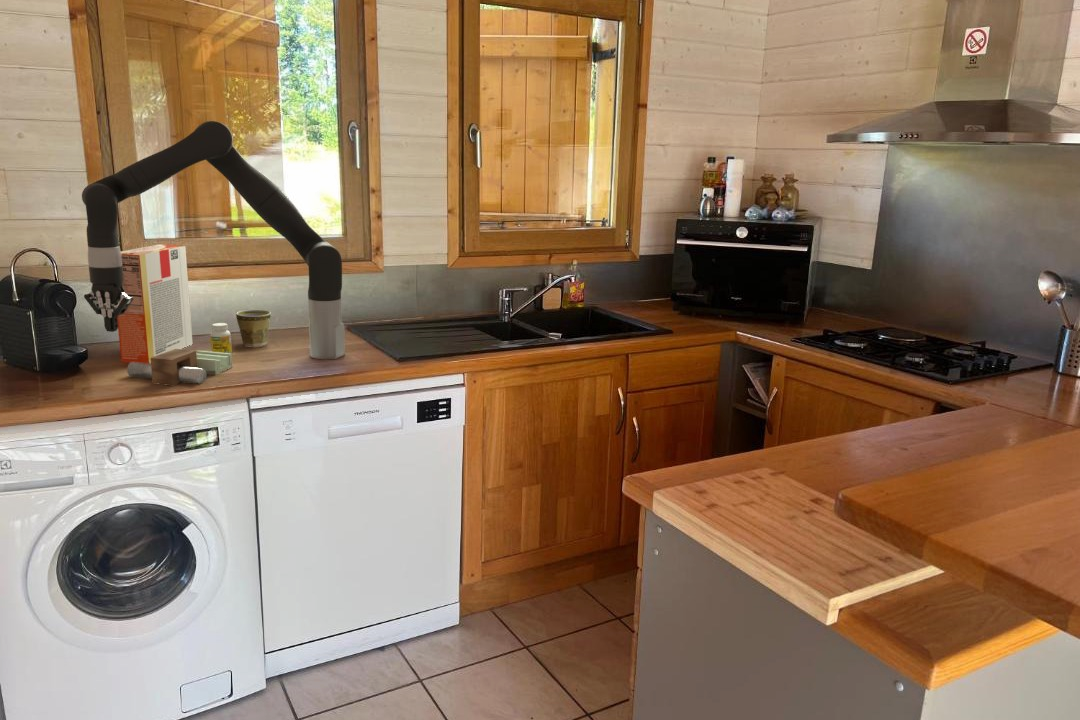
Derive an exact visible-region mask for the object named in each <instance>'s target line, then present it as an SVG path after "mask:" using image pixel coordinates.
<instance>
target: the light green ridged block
mask: <svg viewBox="0 0 1080 720" xmlns="http://www.w3.org/2000/svg"><path fill="white" fill-rule="evenodd" d="M196 355H197V368H203V369H205V370H206V373H207V375H212V374H214V375H213V376H217V375H218V373H219V374H220V372H221V373H223V372H225V371H227V370H226V369H228V370H230V369H232V368H233V359H232V356H233V355H232V356H231V353H221V352H212V351H211V350H209V351H208V350H196ZM231 367H232V368H231ZM229 368H230V369H229ZM224 370H225V371H224ZM222 371H223V372H222Z"/></svg>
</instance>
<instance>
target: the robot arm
mask: <svg viewBox="0 0 1080 720" xmlns="http://www.w3.org/2000/svg"><path fill="white" fill-rule="evenodd" d="M233 138H234V137H233V134H232V131H231V130H230V128H229V127H228V126H226V124H224V123H223V122H220V121H216V120H208V121H204V122H202V123H201V124H199V125H198V126H197V127H196V128H195V129H194V130H193V131H192V132H191V133H189V135H187V136H186V137H184V138H183V139H181V140H180V141H177V142H176V143H174V144H172V145H170V146H168V147H166V148H165V149H162V150H159V151H157V152H156V153H153V154H152V155H148V156H147V157H144V158H142V159H140V160H138V161H136V162H134V163H132V164H130V165H128V166H126V167H125V168H122V169H120V170H119V171H117V172H116V173H114V174H110V175H108V176H106V177H104V178H101V179H98V180H96V181H94V182H92V183H90V184H88V185H87V186H85V187H84V188H83V191H82V192H81V200H82V202H83V205H85V210H86V212H85V213H86V219H87V226H86V241H87V264H88V272H89V273H88V274H89V282H90V283H91V284H92V285H91V288H90V291H89V293H86V294H84V295H83V297H84V299H85V301H86V302H87V303H88V305H90V307H91V309H93V311H94V312H95V314H96V315H101V316H102V317H103V322H104V323H103V325H104V328H105V329H104V330H106V332H109V333H113V332H116V331H117V332H118V319H117V317H118V316H119V315H122V314H124V313H125V311H126V310H127V308H128V307H129V305H130V304H131V302H132V301H133V297H132V296H128V295H126V294H125V293H124V292H125V290H124V288H123V286H122V283H123V281H124V278H123V267H122V256H121V248H120V237H119V236H120V235H119V229H118V213H119V212H118V209H119V208H118V204H119V203H121V202H123V201H125V200H127V199H129V198H133V197H136V196H139V195H141V194H143V193H146V192H147V191H149V190H151V189H152V188H153V189H154V187H156V186H158V185H160V184H162V183H164V182H165V181H167V180H169V179H171V177H174V176H175V175H177V174H178V173H180V172H181V171H183V170H185V169H187V168H189V167H190V166H193V165H196V164H197V163H200V162H203V161H206V162H208V163H209V164H210V165H211V166H212V167H213V168H214V169H216V170H217V171H218V172H219V173H220V174H221V175H222V176H223V177H225V179H226V180H227V181H228V182H229V183H230V184H231V185H232V187H233V188H234V189H235V191H236V192H237V193H238V194H239V195H240V196H241V198H243V200H244V201H245V202H246V203H247V204H248V205H249V207H250V208H252V210H253V211H254V212H255V213H256V214H257V215H259V217H260V218H261V219H262V220H263V221H264V222H265V223H266V224H267V225H269V227H270V228H272V229H273V230H274V231H275V232H277V233H278V234H279V235H280V236H281V237H283V238H284V239H285V240H287V241H288V242H289V243H290V244H291V245H292V246H293V248H294V249H295V250H296V252H298V255H300V256H301V258H302V259H303V261H304V262H305V263H306V265H307V266H308V290H307V299H308V302H307V303H308V329H309V330H308V332H309V356H310V357H311V358H313V359H317V360H319V359H320V360H330V359H331V360H332V359H333V360H337V359H339V358H340V357H343V356H344V355H346V348H345V347H346V346H345V343H346V342H345V339H346V338H345V337H346V335H345V323H344V322H342V288H343V261H342V256H341V253H340V252H339V250H338V249H337V248H336V247H334V246H333V245H332V244H331V243H329V242H328V241H326V240H325V239H324V238H323V237H322V236H320V234H318V233H317V232H316V231H315V230H314V229H313V228H312V227H311V226H310V225H309V224H308V222H307V221H306V220H305V219H304V217H303V215H302V214H301V213H300V211H299V210H298V208H297V207H296V205H295V204H294V202H292V200H291V199H290V198H289V197H288V196H287V195H286V193H284V192H283V190H282V189H281V188H280V187H279V185H277V184H276V183H275V182H274V181H273V180H272V179H270V178H269V177H268V176H266V175H265V174H264V173H263V172H261V171H260V170H259V169H257V168H256V167H254V166H253V165H252V164H250V163H249V162H248V161H247V159H245V158H244V157H243V156H242V154H240V152H239V151H238V150H237V149H236V147H235V146H234V144H233V143H234V139H233Z"/></svg>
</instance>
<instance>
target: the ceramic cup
mask: <svg viewBox="0 0 1080 720" xmlns="http://www.w3.org/2000/svg"><path fill="white" fill-rule="evenodd" d="M271 313H272V312H271V311H269V310H265V309H263V310H262V309H247V310H240V311H237V312H236V313H235V316H236V321H237V325H238V328H239V332H240V333H239V334H240V336H241V340H242V344H243V345H244V347H246V346H252V347H251V348H257V347H256V346H262V347H264V346H266V345H267V343H268V339H269V331H270V330H269V329H270V323H271V316H272V314H271ZM263 345H264V346H263Z"/></svg>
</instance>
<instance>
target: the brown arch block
mask: <svg viewBox="0 0 1080 720" xmlns="http://www.w3.org/2000/svg"><path fill="white" fill-rule="evenodd" d="M196 353H197V350H192V349H174V350H171V351H168V352H165V353H163V354H160V355H157V356H154V357H151V369H152V379H151V380H152V384H154V383H159V384H158V385H164V384H167V386H177V385H178V384H179V382H178V373H177V366H183V367H193V368H197V355H196Z"/></svg>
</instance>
